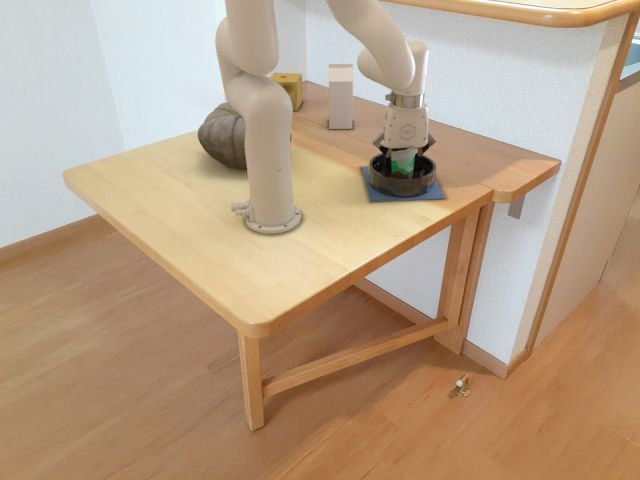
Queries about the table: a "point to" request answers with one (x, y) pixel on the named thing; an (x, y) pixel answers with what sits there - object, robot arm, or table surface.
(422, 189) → the pan
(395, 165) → the food container
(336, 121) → the milk carton
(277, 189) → the robot arm
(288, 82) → the cheese
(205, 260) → the table surface
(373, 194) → the napkin
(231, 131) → the gourd
